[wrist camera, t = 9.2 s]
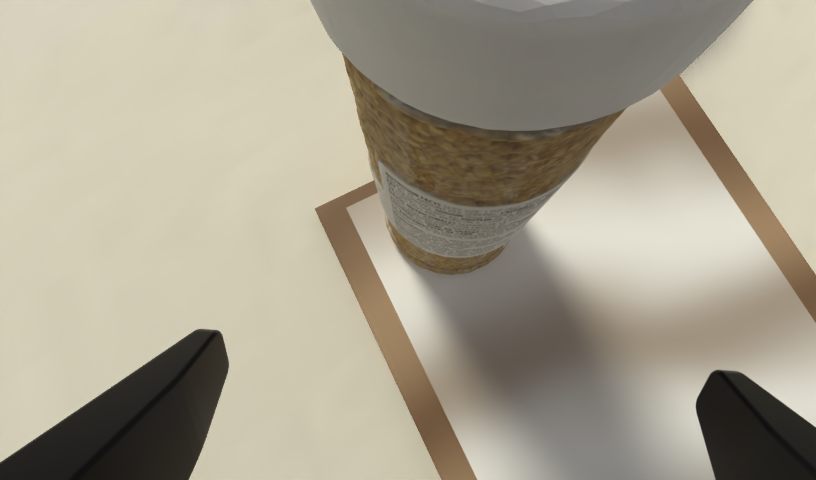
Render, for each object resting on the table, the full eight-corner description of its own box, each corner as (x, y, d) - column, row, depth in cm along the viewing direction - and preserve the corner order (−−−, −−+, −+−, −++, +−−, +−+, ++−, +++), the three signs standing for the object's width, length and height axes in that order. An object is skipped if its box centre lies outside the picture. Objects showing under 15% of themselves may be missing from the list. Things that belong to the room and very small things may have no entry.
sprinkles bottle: (412, 133, 17) (382, -566, 4) (534, 177, 17) (974, -452, 3) (364, 250, 16) (112, -128, 3) (490, 299, 16) (844, 103, 3)
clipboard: (968, 520, 15) (1021, 538, 13) (570, 751, 14) (586, 794, 12) (651, 52, 18) (669, 31, 17) (317, 212, 17) (309, 202, 16)
